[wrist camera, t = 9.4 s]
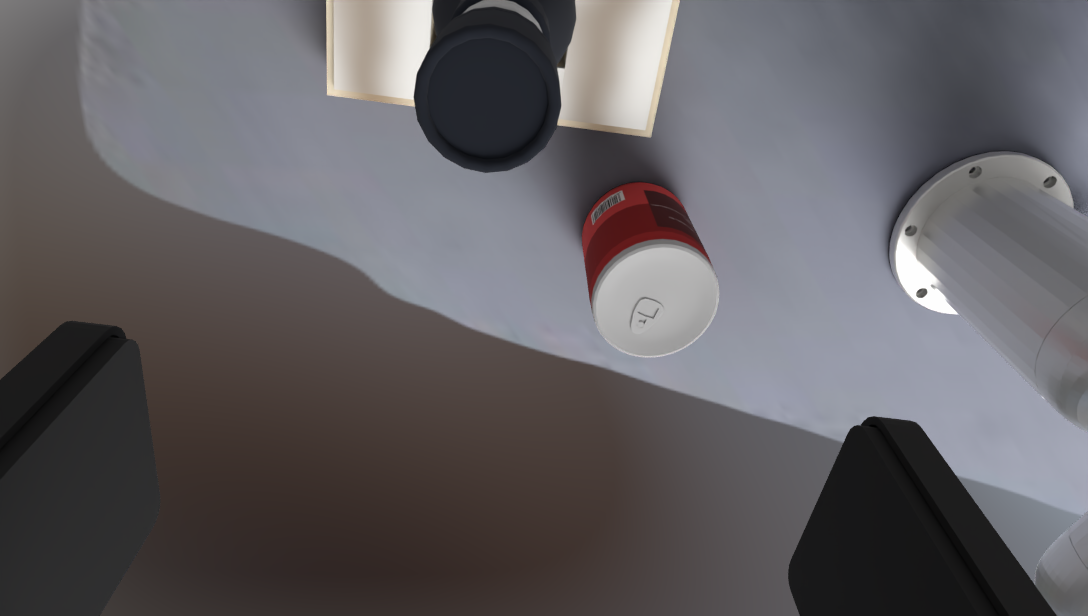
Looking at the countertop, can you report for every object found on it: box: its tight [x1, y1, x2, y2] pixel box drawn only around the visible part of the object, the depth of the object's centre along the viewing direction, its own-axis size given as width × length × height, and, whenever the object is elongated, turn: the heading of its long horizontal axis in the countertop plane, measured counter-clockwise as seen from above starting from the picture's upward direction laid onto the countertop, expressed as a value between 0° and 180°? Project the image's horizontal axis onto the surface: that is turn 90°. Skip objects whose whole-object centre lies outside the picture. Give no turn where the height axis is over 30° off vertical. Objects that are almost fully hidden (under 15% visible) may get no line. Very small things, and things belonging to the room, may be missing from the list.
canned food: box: [582, 182, 719, 358], centre depth 49 cm, size 8×8×11 cm
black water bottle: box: [414, 0, 576, 173], centre depth 32 cm, size 6×6×30 cm
